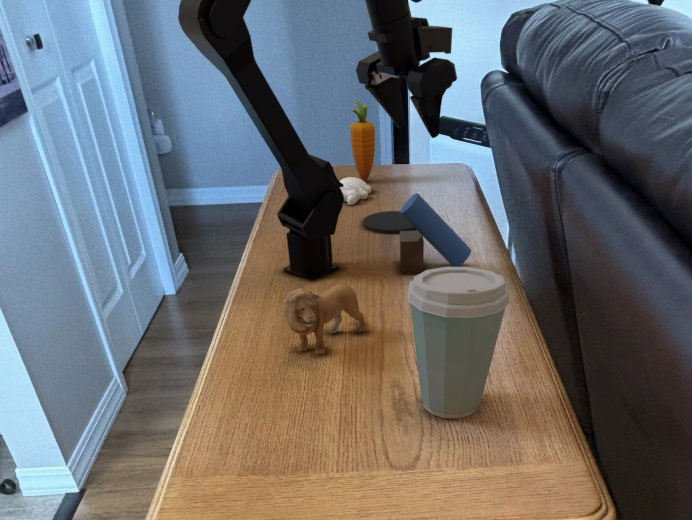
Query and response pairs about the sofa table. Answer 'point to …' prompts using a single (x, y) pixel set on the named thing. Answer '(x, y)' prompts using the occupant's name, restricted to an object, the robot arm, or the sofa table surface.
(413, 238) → the lean block
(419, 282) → the disposable coffee cup
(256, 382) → the sofa table surface
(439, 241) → the tube
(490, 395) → the sofa table surface
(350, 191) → the white turtle figurine
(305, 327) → the lion figurine
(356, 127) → the carrot
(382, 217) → the coaster
